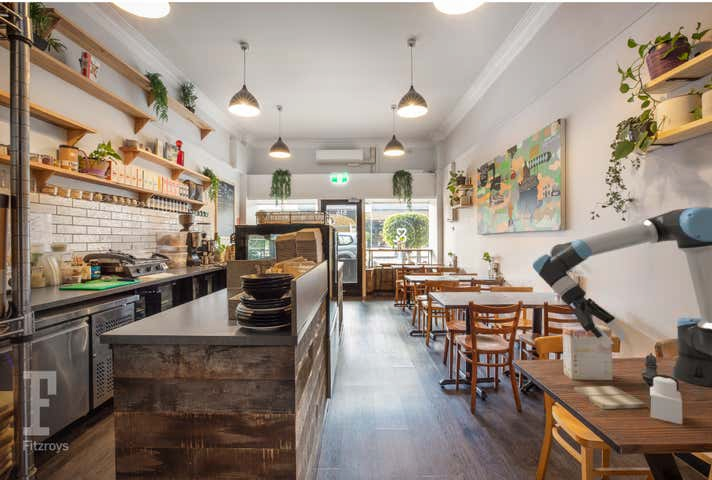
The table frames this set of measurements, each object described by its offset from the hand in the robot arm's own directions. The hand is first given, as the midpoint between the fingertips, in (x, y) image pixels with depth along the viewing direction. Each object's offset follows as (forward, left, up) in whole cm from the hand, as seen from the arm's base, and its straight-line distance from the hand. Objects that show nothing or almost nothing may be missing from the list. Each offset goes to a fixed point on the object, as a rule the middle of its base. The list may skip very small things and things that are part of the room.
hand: (617, 341), depth 118 cm
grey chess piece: (-21, -12, -20) cm, 31 cm away
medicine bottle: (-6, +10, -20) cm, 23 cm away
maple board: (+2, -3, -20) cm, 20 cm away
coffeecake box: (-4, -22, -20) cm, 30 cm away
